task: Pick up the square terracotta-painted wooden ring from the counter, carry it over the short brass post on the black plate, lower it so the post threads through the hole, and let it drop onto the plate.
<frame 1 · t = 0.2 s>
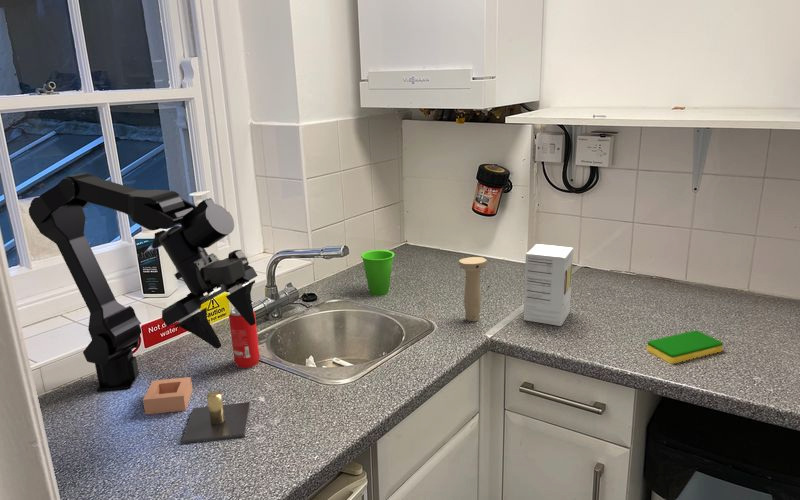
hand: (237, 335, 104), 14 cm above the worktop, tool tilted 30°, fingers open, 9 cm apart
beverage can: (247, 364, 125), on the worktop
ring: (169, 402, 111), on the worktop
cup: (379, 293, 162), on the worktop
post: (218, 423, 104), on the worktop
dish sponge: (683, 353, 125), on the worktop
handle: (472, 320, 143), on the worktop
supplement box: (546, 317, 144), on the worktop
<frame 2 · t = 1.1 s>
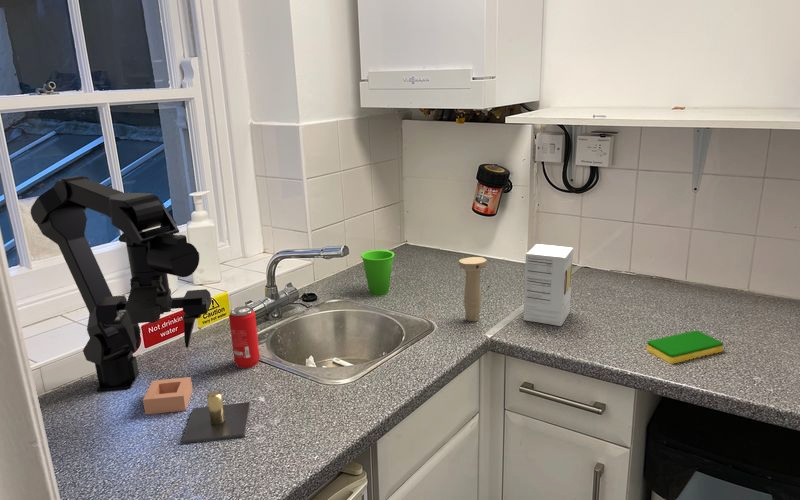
hand: (161, 349, 108), 11 cm above the worktop, tool pointing down, fingers open, 9 cm apart
nothing on the worktop moved.
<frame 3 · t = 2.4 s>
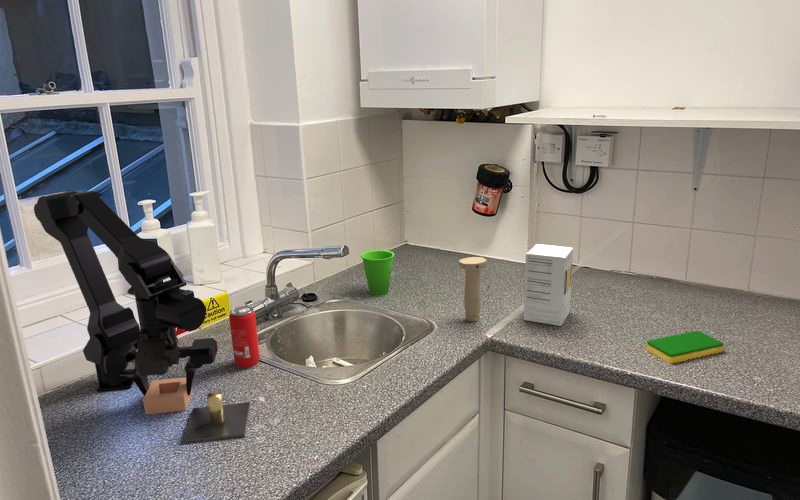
hand: (168, 396, 111), 1 cm above the worktop, tool pointing down, fingers closed on ring, 7 cm apart
ring: (169, 402, 111), on the worktop, touching gripper
everything else where it was.
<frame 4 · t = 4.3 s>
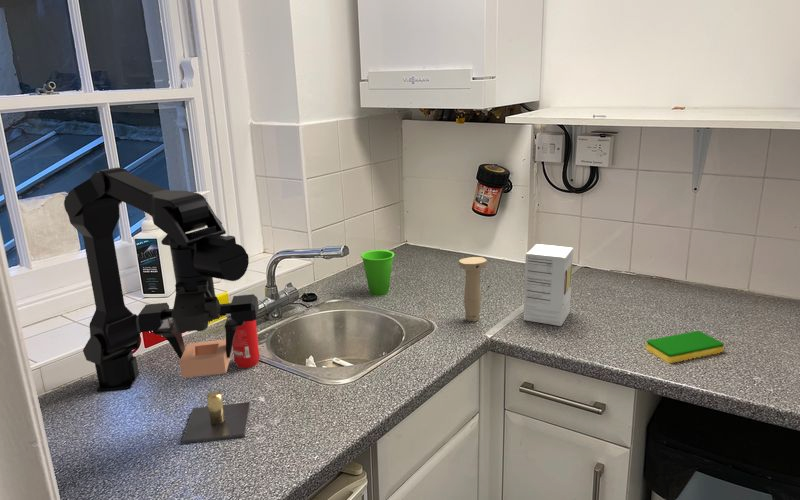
hand: (206, 359, 101), 12 cm above the worktop, tool pointing down, fingers closed on ring, 7 cm apart
ring: (207, 365, 101), point 11 cm above the worktop, touching gripper
everything else where it was.
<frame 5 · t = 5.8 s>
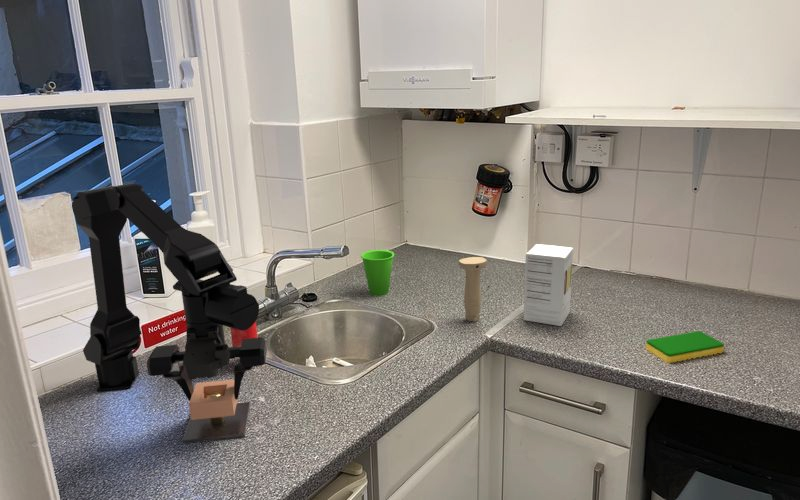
hand: (214, 400, 102), 5 cm above the worktop, tool pointing down, fingers closed on ring, 7 cm apart
ring: (215, 406, 103), point 3 cm above the worktop, touching gripper
everything else where it was.
when the fingers open (4 cm above the worktop, at t = 6.6 s): ring drops 3 cm, resting on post.
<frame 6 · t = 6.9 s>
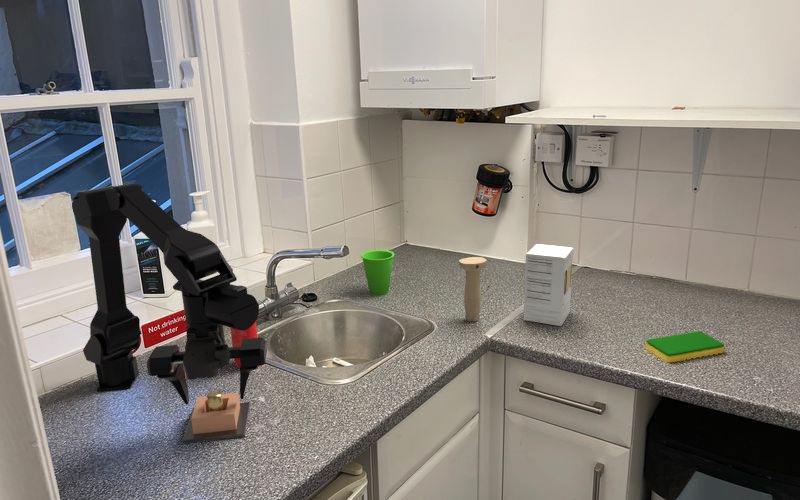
hand: (215, 400, 102), 4 cm above the worktop, tool pointing down, fingers open, 9 cm apart
ring: (217, 420, 104), point 1 cm above the worktop, touching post
everything else where it was.
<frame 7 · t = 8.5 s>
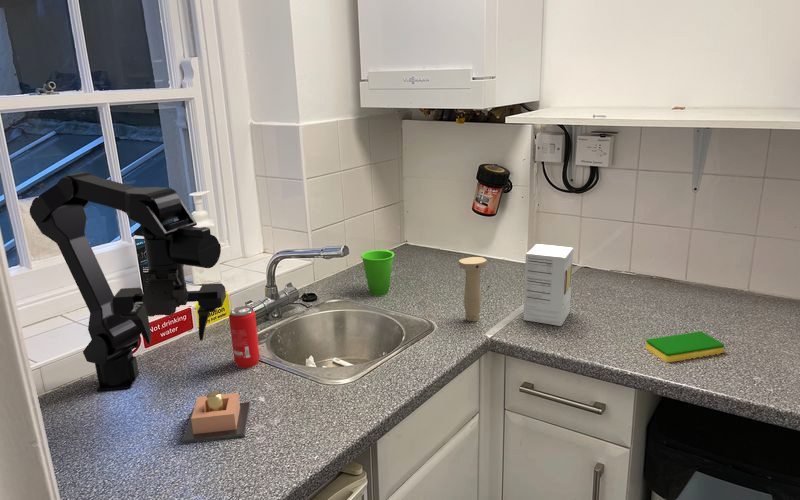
hand: (175, 341, 109), 12 cm above the worktop, tool pointing down, fingers open, 9 cm apart
nothing on the worktop moved.
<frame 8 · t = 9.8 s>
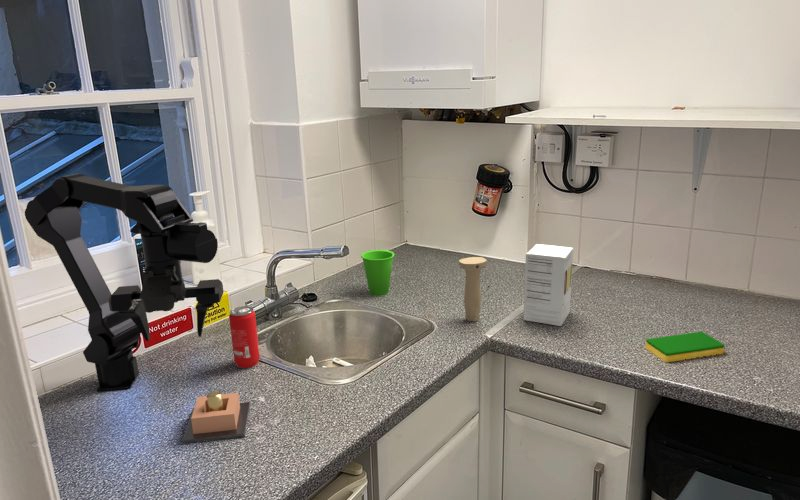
hand: (174, 338, 110), 12 cm above the worktop, tool pointing down, fingers open, 9 cm apart
nothing on the worktop moved.
at the end: ring 0.0 cm off-centre on the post, point 0.6 cm above the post's base; the gripper is holding nothing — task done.
